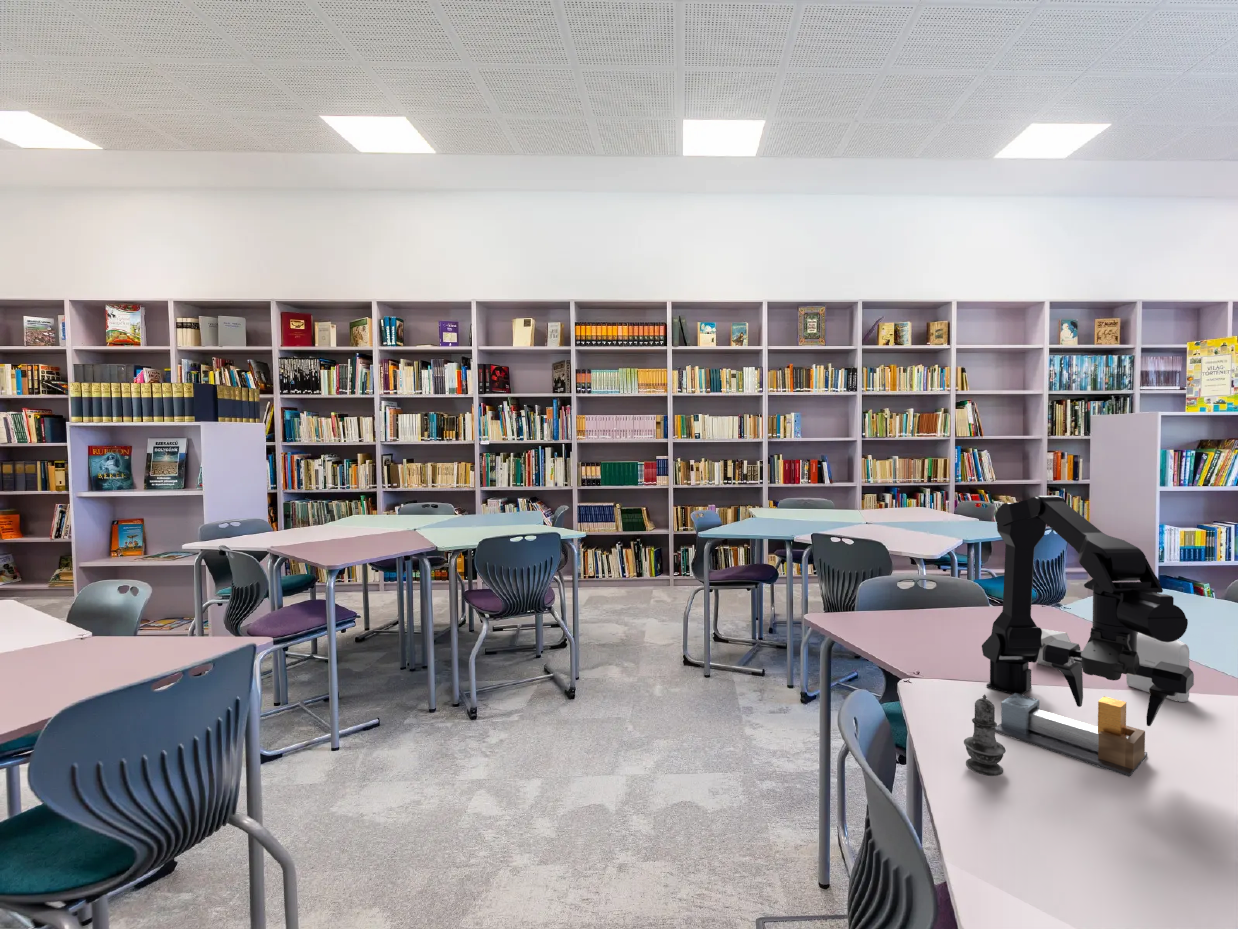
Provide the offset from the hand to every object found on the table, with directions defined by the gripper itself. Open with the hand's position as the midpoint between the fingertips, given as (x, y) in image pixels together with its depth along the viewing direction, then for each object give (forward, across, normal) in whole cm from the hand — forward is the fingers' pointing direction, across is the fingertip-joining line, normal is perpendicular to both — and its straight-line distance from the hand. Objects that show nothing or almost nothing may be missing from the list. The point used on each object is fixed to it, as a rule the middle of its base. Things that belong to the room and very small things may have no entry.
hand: (1113, 715), depth 102 cm
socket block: (+7, +1, 0) cm, 7 cm away
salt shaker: (+7, -12, -19) cm, 24 cm away
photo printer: (+7, -2, +38) cm, 39 cm away
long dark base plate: (+7, -6, 0) cm, 10 cm away
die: (+7, -21, +40) cm, 46 cm away
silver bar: (+6, -7, 0) cm, 9 cm away
